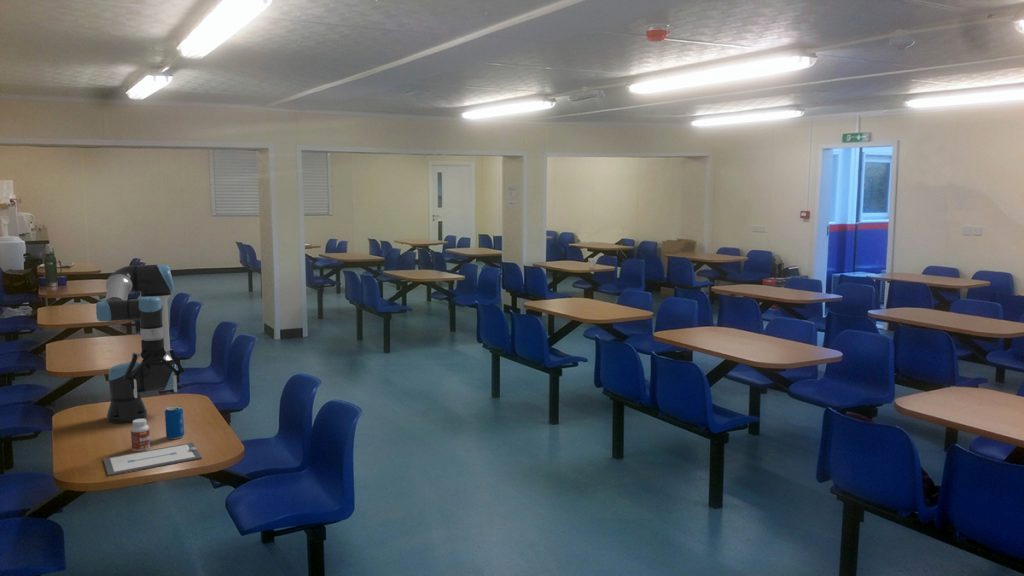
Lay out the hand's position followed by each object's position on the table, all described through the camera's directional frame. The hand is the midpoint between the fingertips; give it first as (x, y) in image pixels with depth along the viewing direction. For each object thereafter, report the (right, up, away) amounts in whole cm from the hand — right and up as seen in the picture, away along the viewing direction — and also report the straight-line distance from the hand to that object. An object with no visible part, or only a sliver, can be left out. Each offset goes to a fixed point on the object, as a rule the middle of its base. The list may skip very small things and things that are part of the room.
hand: (155, 394), depth 275 cm
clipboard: (+3, -22, -9) cm, 24 cm away
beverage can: (+1, -19, +14) cm, 24 cm away
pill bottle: (-6, -21, +2) cm, 22 cm away
